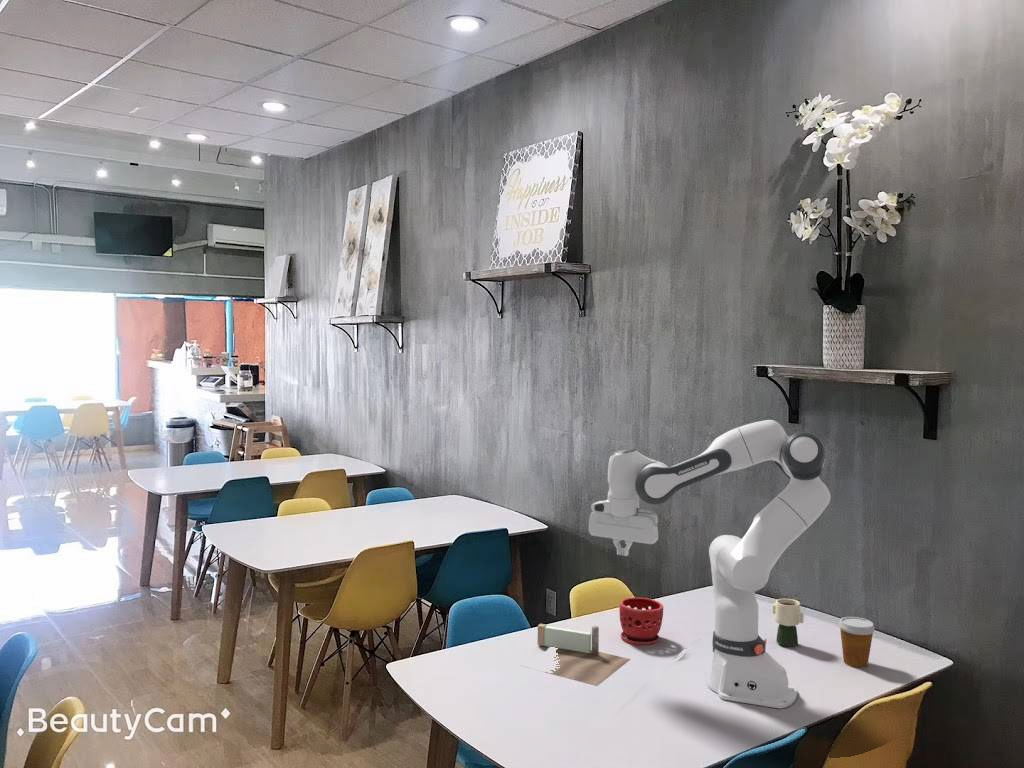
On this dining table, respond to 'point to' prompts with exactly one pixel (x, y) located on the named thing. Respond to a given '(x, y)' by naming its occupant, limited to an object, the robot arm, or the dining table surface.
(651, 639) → the plant pot
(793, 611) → the character mug
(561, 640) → the gate
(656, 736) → the dining table surface
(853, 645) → the disposable coffee cup
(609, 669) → the gate base board
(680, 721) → the dining table surface
